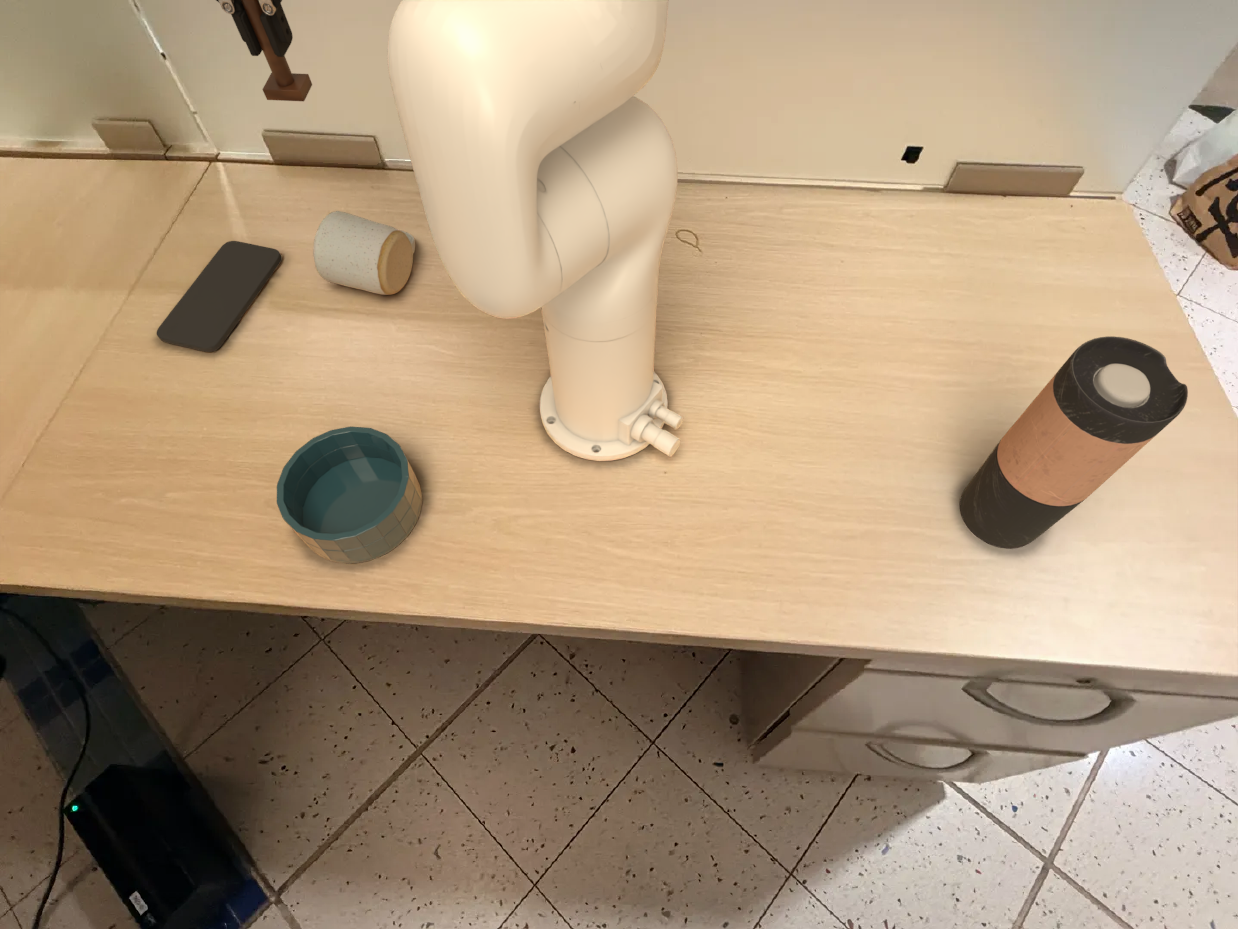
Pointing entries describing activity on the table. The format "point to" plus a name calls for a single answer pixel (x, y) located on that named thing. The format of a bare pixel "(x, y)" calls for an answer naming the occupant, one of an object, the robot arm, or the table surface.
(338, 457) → the bowl
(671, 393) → the table surface
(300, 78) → the wooden stamp
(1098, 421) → the travel mug
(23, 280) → the table surface
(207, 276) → the phone
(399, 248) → the ceramic mug
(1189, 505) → the table surface
